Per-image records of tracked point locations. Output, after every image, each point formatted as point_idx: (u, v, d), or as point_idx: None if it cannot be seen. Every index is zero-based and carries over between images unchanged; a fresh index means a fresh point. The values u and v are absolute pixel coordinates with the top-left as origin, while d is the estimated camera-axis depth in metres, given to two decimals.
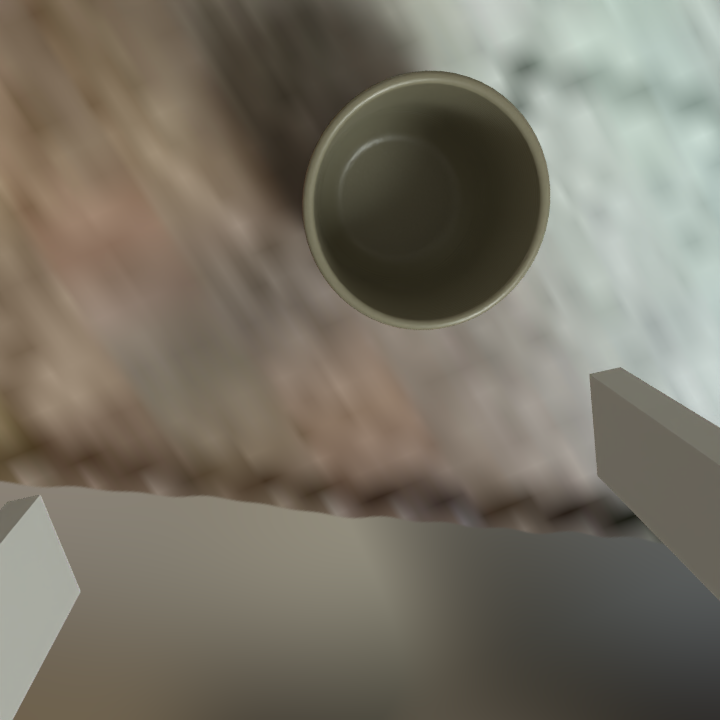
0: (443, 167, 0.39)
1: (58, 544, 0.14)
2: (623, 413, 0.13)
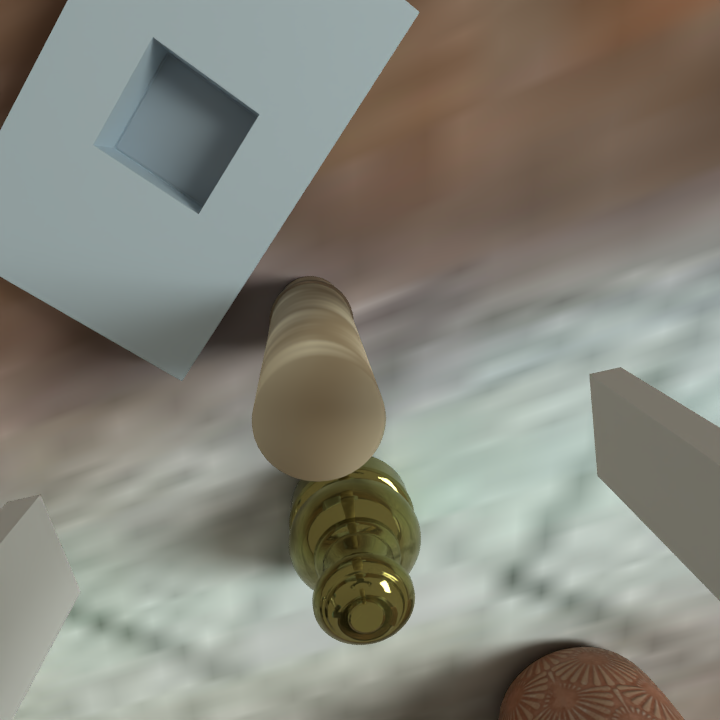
0: None
1: (58, 544, 0.14)
2: (623, 413, 0.13)
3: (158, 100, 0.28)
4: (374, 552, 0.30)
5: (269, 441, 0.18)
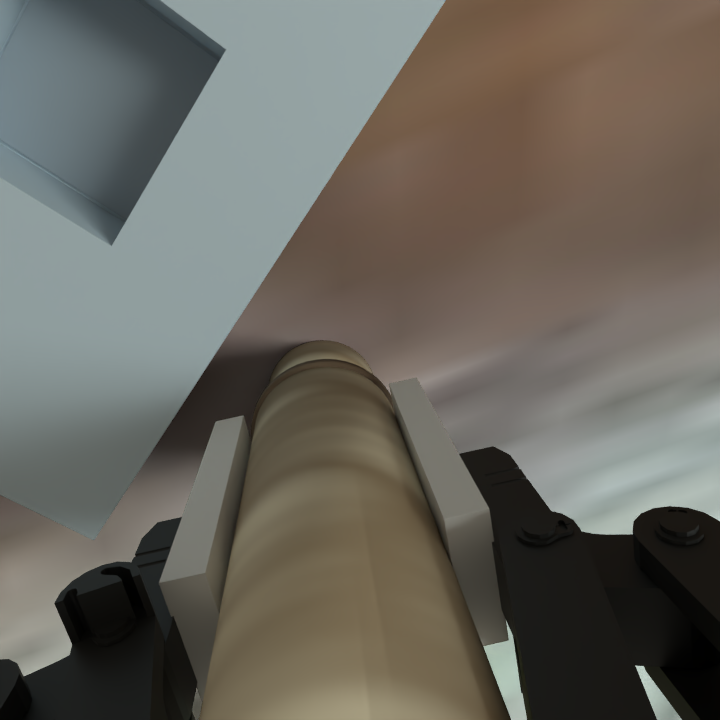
0: None
1: None
2: (399, 418, 0.14)
3: (44, 32, 0.15)
4: None
5: None
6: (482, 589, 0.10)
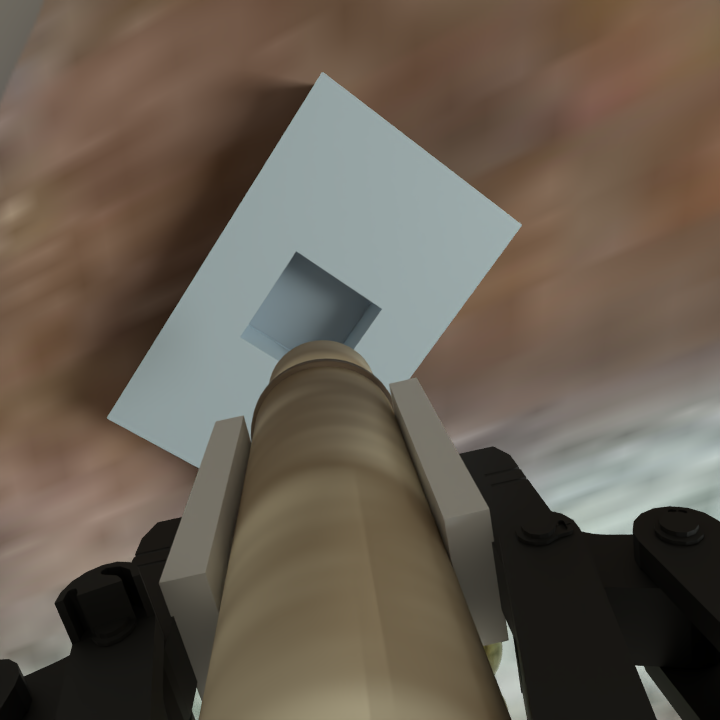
0: None
1: None
2: (399, 418, 0.14)
3: (286, 284, 0.33)
4: None
5: None
6: (482, 589, 0.10)
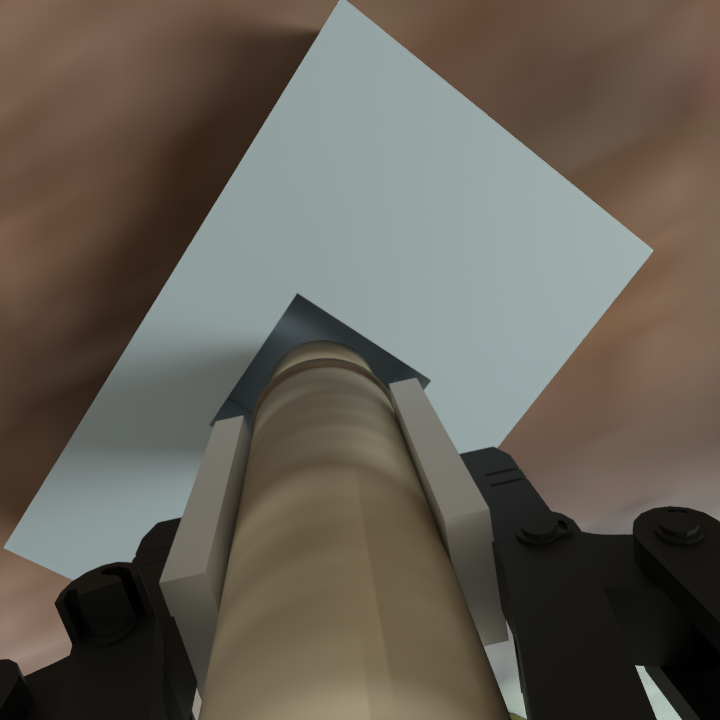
0: None
1: None
2: (399, 418, 0.14)
3: (281, 335, 0.22)
4: None
5: None
6: (482, 589, 0.10)
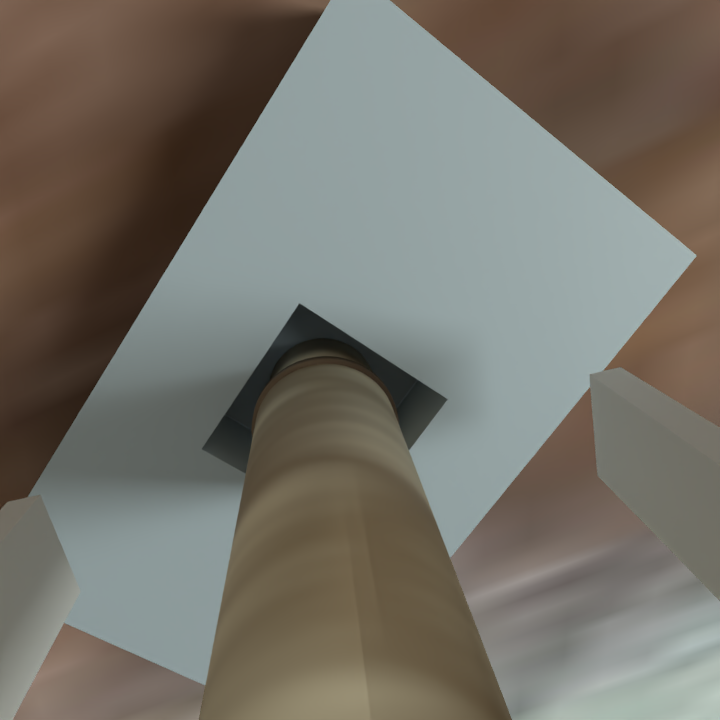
0: None
1: (58, 544, 0.14)
2: (623, 413, 0.13)
3: (282, 347, 0.20)
4: None
5: None
6: None
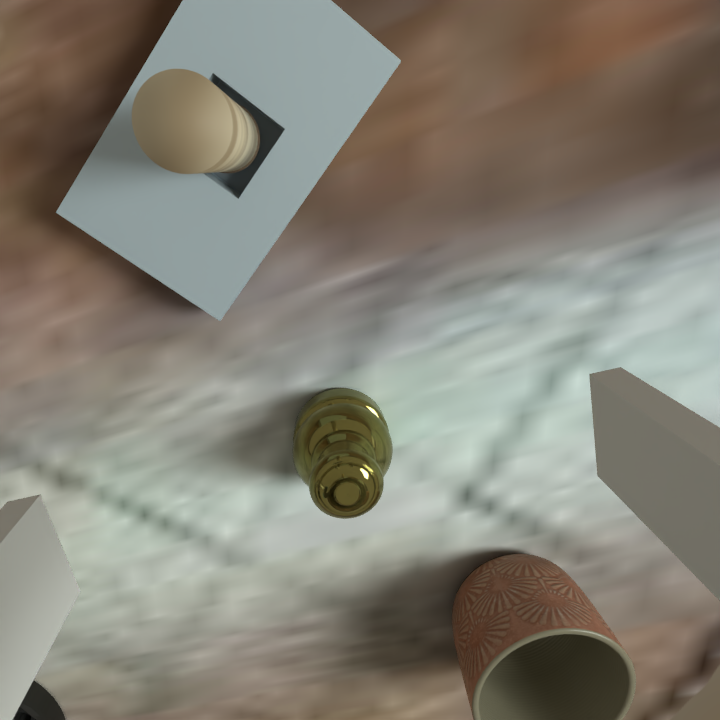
0: None
1: (58, 544, 0.14)
2: (623, 413, 0.13)
3: None
4: None
5: (145, 136, 0.24)
6: None
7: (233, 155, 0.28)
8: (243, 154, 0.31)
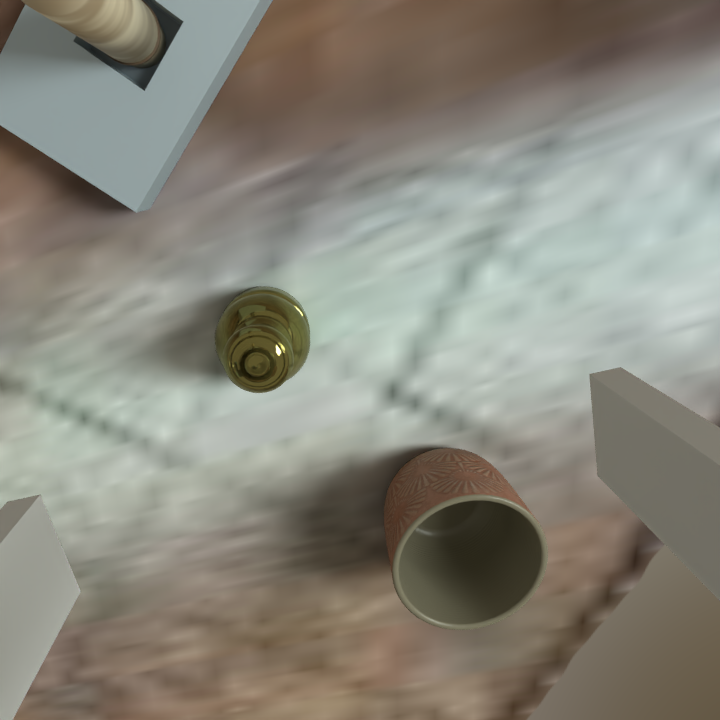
0: None
1: (58, 544, 0.14)
2: (623, 413, 0.13)
3: None
4: None
5: None
6: None
7: (110, 13, 0.30)
8: (130, 27, 0.34)
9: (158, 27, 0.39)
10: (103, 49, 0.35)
